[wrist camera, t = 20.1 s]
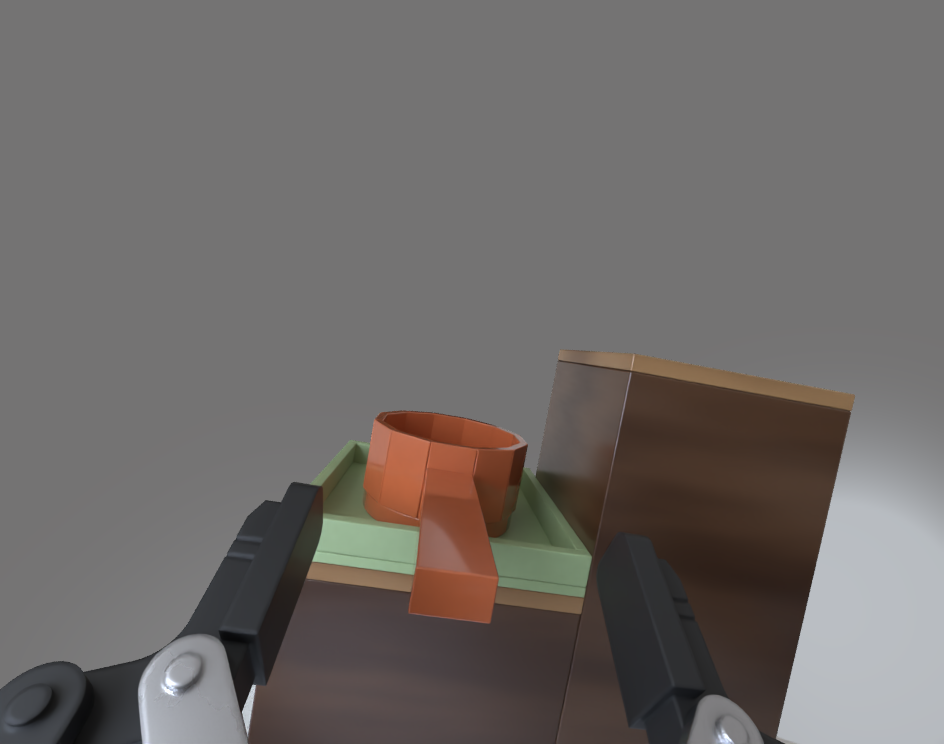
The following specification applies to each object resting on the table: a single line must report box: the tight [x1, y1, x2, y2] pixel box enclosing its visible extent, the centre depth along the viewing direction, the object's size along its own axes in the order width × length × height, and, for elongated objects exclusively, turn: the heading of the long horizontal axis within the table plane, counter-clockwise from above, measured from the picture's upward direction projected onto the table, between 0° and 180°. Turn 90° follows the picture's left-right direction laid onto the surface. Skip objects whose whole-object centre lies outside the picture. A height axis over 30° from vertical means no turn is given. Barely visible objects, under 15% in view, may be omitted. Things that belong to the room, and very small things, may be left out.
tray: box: [311, 440, 592, 598], centre depth 26 cm, size 14×14×2 cm
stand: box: [248, 350, 855, 744], centre depth 27 cm, size 14×25×31 cm, turn 94°
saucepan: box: [362, 411, 528, 624], centre depth 21 cm, size 18×9×5 cm, turn 4°
